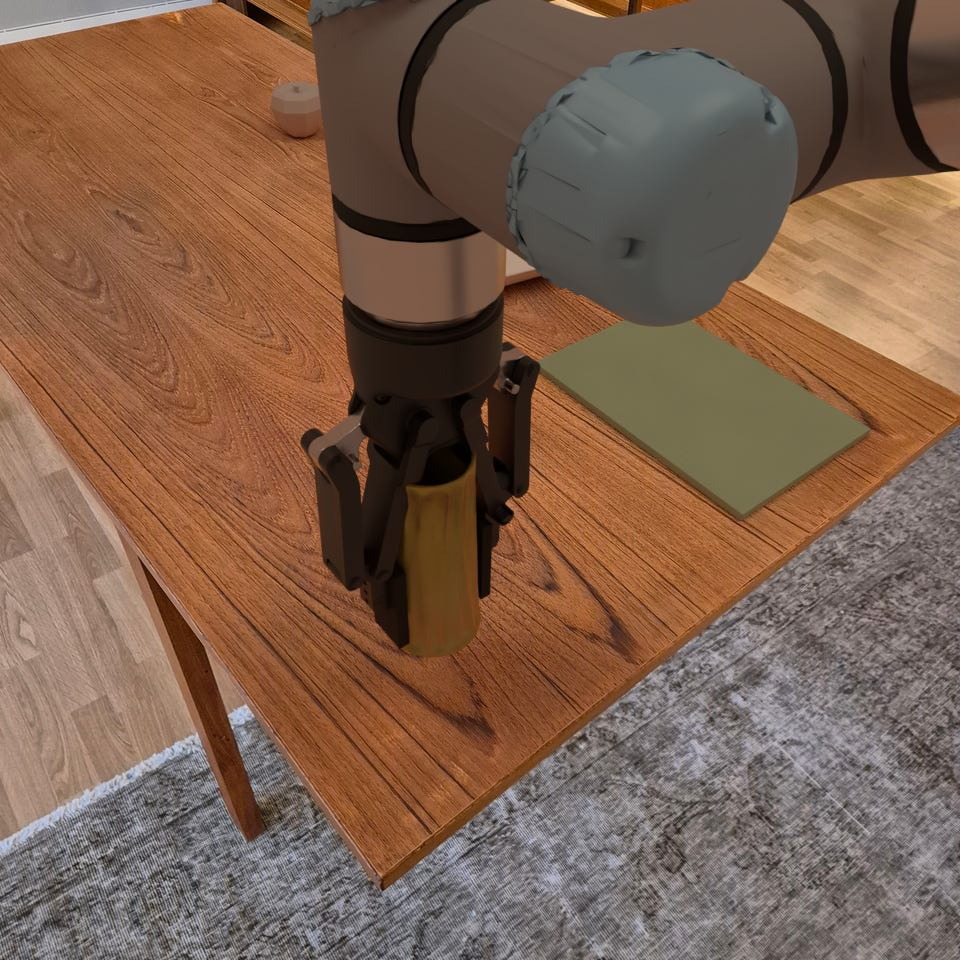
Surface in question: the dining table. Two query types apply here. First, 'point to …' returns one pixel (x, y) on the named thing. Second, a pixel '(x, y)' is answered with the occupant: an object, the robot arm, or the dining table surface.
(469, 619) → the fluted gold cylinder
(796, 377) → the dining table surface
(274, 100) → the apple
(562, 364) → the mat
